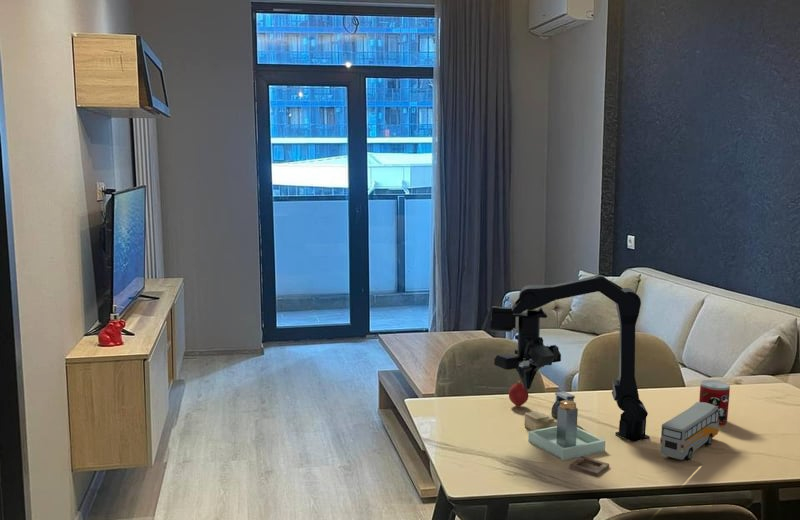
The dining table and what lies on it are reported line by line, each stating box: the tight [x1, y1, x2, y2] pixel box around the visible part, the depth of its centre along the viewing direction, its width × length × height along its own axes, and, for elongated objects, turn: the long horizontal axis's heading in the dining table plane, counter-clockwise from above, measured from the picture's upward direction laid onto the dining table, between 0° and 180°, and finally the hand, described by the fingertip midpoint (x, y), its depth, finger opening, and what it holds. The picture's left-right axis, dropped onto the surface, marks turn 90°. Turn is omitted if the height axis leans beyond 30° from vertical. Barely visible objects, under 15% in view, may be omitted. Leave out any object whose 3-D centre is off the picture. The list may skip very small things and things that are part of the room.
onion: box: [508, 380, 529, 408], centre depth 216 cm, size 6×6×8 cm
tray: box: [528, 426, 606, 461], centre depth 186 cm, size 14×14×3 cm
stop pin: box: [556, 400, 579, 448], centre depth 185 cm, size 4×4×11 cm
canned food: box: [698, 379, 731, 427], centre depth 206 cm, size 8×8×11 cm
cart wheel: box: [551, 390, 576, 419], centre depth 203 cm, size 7×5×8 cm
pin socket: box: [568, 456, 610, 478], centre depth 172 cm, size 7×7×1 cm
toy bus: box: [659, 401, 723, 462], centre depth 185 cm, size 7×26×10 cm, turn 137°
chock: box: [523, 410, 557, 431], centre depth 199 cm, size 8×5×4 cm, turn 117°
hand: (527, 388), depth 197 cm, fingers closed
